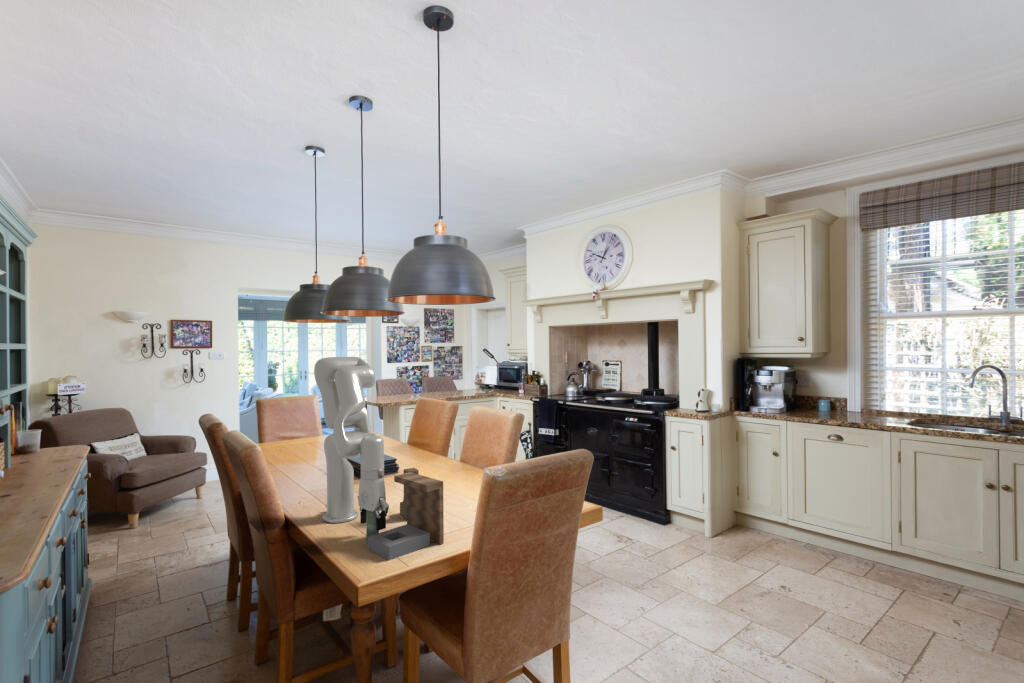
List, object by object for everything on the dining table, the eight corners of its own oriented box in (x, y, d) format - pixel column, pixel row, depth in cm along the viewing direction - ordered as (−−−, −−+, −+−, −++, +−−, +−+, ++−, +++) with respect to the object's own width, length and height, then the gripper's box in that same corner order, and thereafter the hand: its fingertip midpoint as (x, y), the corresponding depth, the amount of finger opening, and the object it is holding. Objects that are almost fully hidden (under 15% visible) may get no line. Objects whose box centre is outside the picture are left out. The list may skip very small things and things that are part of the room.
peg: (364, 538, 169) (364, 508, 169) (374, 535, 172) (374, 505, 172) (370, 541, 166) (370, 510, 166) (381, 538, 169) (381, 508, 169)
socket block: (367, 549, 160) (367, 536, 160) (407, 535, 170) (407, 524, 170) (389, 560, 151) (389, 546, 151) (429, 545, 162) (429, 532, 162)
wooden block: (399, 513, 193) (399, 466, 193) (410, 511, 195) (410, 464, 195) (407, 520, 185) (407, 471, 185) (419, 518, 187) (418, 469, 188)
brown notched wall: (394, 535, 171) (394, 475, 172) (410, 529, 176) (410, 472, 176) (427, 549, 159) (427, 485, 159) (443, 543, 164) (443, 481, 164)
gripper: (348, 472, 172) (349, 523, 172) (376, 480, 160) (377, 535, 160) (368, 468, 177) (369, 517, 177) (397, 476, 166) (397, 528, 165)
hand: (373, 525), depth 169 cm, fingers open, 9 cm apart
